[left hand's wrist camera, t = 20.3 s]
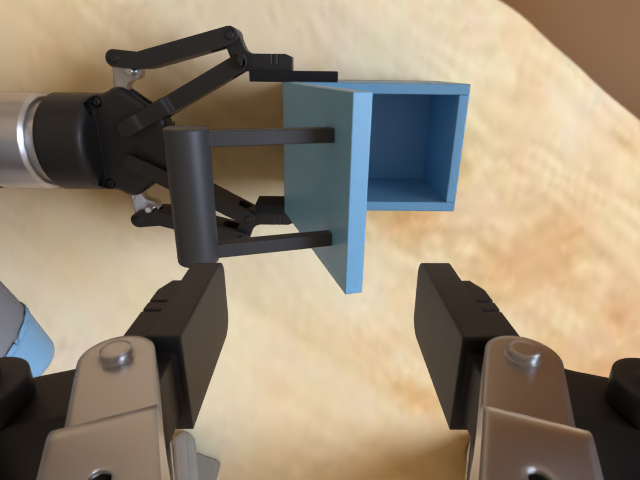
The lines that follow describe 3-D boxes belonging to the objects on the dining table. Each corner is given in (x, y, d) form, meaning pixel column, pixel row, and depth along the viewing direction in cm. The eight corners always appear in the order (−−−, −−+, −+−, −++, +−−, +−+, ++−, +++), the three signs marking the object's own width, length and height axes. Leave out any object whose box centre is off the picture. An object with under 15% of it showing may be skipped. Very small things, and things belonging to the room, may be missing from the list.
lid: (373, 91, 18) (154, 92, 16) (362, 292, 22) (181, 317, 19) (294, 82, 30) (165, 81, 28) (295, 211, 34) (180, 220, 32)
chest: (438, 81, 39) (470, 84, 31) (427, 184, 43) (454, 211, 34) (294, 79, 39) (288, 81, 31) (295, 182, 42) (290, 209, 34)
